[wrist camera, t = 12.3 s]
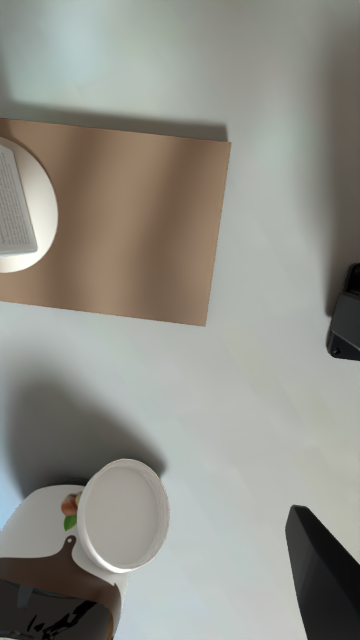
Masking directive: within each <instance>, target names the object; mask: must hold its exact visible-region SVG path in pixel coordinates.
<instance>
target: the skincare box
mask: <svg viewBox="0 0 360 640" xmlns="http://www.w3.org/2000/svg"><path fill="white" fill-rule="evenodd" d="M36 252H37V246H36V242H35V238H34V234H33V230H32V227H31V223H30V219H29V215H28V211H27V207H26V203H25V199H24V195H23V191H22V187H21V183H20V179H19V175H18V171H17V167H16V163H15V159H14V155H13V152H12V150H11V149H9V148H7V147H5V146H2V145H0V258H2V257H9V256H17V255H25V254H32V253H36Z"/></svg>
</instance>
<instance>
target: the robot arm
mask: <svg viewBox="0 0 360 640" xmlns="http://www.w3.org/2000/svg"><path fill="white" fill-rule="evenodd" d="M358 267H359V268H360V263H354V264H352V265H351V266H350V267H349V269H348V273H347V277H346V280H345V284H344V288H343V292H341V293H340V294H339V297H338V300H337V304H336V308H335V312H334V316H333V320H332V323H331V327H330V329H331V330H332V333H331V337H330V341H329V345H328V349H327V351H328V353H329V354H330V355H331V356H332V357H334V358H340V359H348V360H356V361H360V272H359V273H358V274H356V273H355V270H356V268H358ZM335 348H338V351H337V352H334V349H335ZM285 533H286V540H287V546H288V551H289V557H290V562H291V568H292V574H293V579H294V585H295V591H296V596H297V601H298V605H299V609H300V613H301V617H302V620H303V624H304V628H305V632H306V635H307V639H308V640H360V565H359V563H358V562H357V561H356V560H355V559H354V558H353V557H352V556H351V555H350V554H349V552H348V551H347V550H346V549H345V548H344V547H343V546H342V545H341V544H340V543H339V541H338V540H337V539H336V538H335V537H334V536H333V535H332V534H331V533H330V531H329V530H328V529H327V528H326V527H325V526H324V525H323V524H322V523H321V522H320V520H319V519H318V518H317V517H316V516H315V515H314V514H313V513H312V512H311V511H310V509H309V508H307V507H306V506H300V505H292V506H291V508H290V512H289V515H288V519H287V523H286V528H285Z"/></svg>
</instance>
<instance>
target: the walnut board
mask: <svg viewBox="0 0 360 640" xmlns="http://www.w3.org/2000/svg"><path fill="white" fill-rule="evenodd" d="M0 145H2V146H5V147H7V148H9V149H11V150H12V152H13V155H14V159H15V163H16V167H17V171H18V175H19V179H20V183H21V187H22V191H23V195H24V199H25V203H26V207H27V211H28V215H29V219H30V223H31V227H32V230H33V234H34V238H35V242H36V246H37V252H36V253H32V254H25V255H17V256H9V257H2V258H0V301H4V302H12V303H20V304H28V305H36V306H44V307H52V308H60V309H68V310H76V311H84V312H92V313H100V314H108V315H116V316H124V317H132V318H140V319H148V320H156V321H164V322H172V323H180V324H188V325H196V326H204V327H205V325H206V318H207V311H208V304H209V297H210V290H211V283H212V276H213V268H214V261H215V254H216V247H217V240H218V233H219V226H220V219H221V212H222V205H223V198H224V191H225V184H226V177H227V170H228V163H229V155H230V148H231V142H222V141H213V140H203V139H194V138H184V137H175V136H166V135H156V134H147V133H137V132H128V131H119V130H109V129H100V128H90V127H81V126H72V125H62V124H53V123H43V122H34V121H25V120H15V119H6V118H0Z"/></svg>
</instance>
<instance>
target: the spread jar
mask: <svg viewBox="0 0 360 640" xmlns="http://www.w3.org/2000/svg"><path fill="white" fill-rule="evenodd" d="M169 519H170V513H169V503H168V497H167V494H166V491H165V488H164V486H163V484H162V482H161V480H160V479H159V477H158V476H157V474H156V473H155V472H154V471H153V470H152V469H151V468H150V467H148V466H147V465H146V464H144V463H142V462H140V461H138V460H134V459H119V460H115V461H113V462H111V463H109V464H107V465H106V466H105V467H103V468H102V469H101V470H100V471H99V472H97V473H96V474H95V475H94V476H93V477H92V478H91V479H90V480H84V479H70V480H63V481H58V482H54V483H51V484H48V485H45V486H43V487H41V488H39V489H37V490H35V491H34V492H32V493H31V494H30V495H29V496H28V497H27V498H25V499H24V500H23V501H22V503H21V504H20V505H19V506H18V507H17V508H16V510H15V511H14V512H13V514H12V515H11V516H10V518H9V519H8V521H7V522H6V524H5V525H4V527H3V528H2V529H1V531H0V640H113V638H114V635H115V633H116V630H117V626H118V623H119V620H120V617H121V613H122V609H123V605H124V601H125V596H126V592H127V587H128V582H129V577H130V572H131V570H134V569H137V568H140V567H142V566H144V565H145V564H147V563H149V562H150V561H151V560H152V559H153V558H154V557H155V556H156V555H157V553H158V552H159V550H160V549H161V547H162V545H163V543H164V541H165V539H166V535H167V532H168V528H169Z"/></svg>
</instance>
